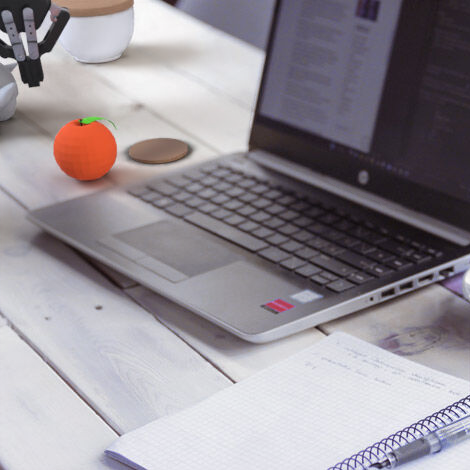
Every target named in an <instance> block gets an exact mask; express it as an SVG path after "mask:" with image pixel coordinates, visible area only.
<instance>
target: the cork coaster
mask: <svg viewBox="0 0 470 470" xmlns="http://www.w3.org/2000/svg"><path fill="white" fill-rule="evenodd" d="M188 152H189V145H188V144H187V143H186V142H185V141H183V140H180V139H177V138H171V137H170V138H169V137H157V138H149V139H145V140H141V141H139V142H137V143H134V144H133V145H131V146H130V148H129V150H128V155H129V157H130V158H131V159H132V160H134V161H136V162H138V163H141V164H142V163H143V164H165V163H170V162H174V161H177V160H180V159H182V158H183V157H185V156H187V154H188Z"/></svg>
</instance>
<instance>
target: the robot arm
mask: <svg viewBox="0 0 470 470" xmlns="http://www.w3.org/2000/svg"><path fill="white" fill-rule="evenodd" d="M50 12H51V13H50ZM48 13H50V15H49V18H50V21H51V24H50V26H49V28H48V29H47V31H46V32H45V34H44V36H43V38H42V40H41V41H39V42H38V36H37V30H39V29H40V28H41V27H42V25H43V23H44V22H45V20H46V17H47V15H48ZM69 19H70V12H69V9H68V8H67V7H60V6H58V5H56V4H55V3H53V2H51V0H0V32H2V33H4V34H6V35H7V37H8V39H9V43H10V44H8V43H7V42H5V40H3V39H2V38H0V58H2V59H6V60H7V59H12V60H14V61H15V62H17V63H18V64H17V67H18V71H19V75H20V80H21V82H22V83H23V85H27V86H28V88H29V89H30V88H38V87H41V82H44V78H45V74H44V69H43V64H42V60H41V57H42V56H43V55H45V54H49V53H51V52H52V51H53V49H54V47H55V46H56V44H57V42H58V41H59V40H58V38H59V37H60V35H61V33H62V31H63V30H64V28H65V26H66V24H67V23H68V21H69ZM52 22H53V23H52ZM21 33H25V38H26V45H27V51H28V55H27V51H26V48H25V45H24V42H23V39H22V34H21Z"/></svg>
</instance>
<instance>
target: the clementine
mask: <svg viewBox="0 0 470 470" xmlns="http://www.w3.org/2000/svg"><path fill="white" fill-rule="evenodd" d="M101 120H105V121H108V122H109V123H110V124H112V125H113V127H114V128H115V130H116V131H118V129H117V126H116V125H115V123H114V122H112V120H109V119H107V118H104V117H101V116H87V117H84V118H77V119H73V120H70V121H69V122H67V123H66V124H65V125H63V126H62V127H61V128H60V129H59V130H58V132H57V133H56V135H55V137H54V141H53V147H52V149H53V151H52V152H53V158H54V161H55V162H56V164H57V165H58V167H59V168H60V170H61V171H62V172H63V173H64V174H65V175H66V176H68V177H70V178H72V179H75V180H77V181H84V182H85V181H87V182H88V181H94V180H97V179H101V178H102V177H103V176H105V175H107V173H109V172H110V170H111V169H112V168H113V166H114V165H115V163H116V160H117V156H118V145H117V144H118V143H117V141H116V138H115V136H114V135H113V133H112V131H111V130H110V129H109V128H108V127H107V126H106V125H105V124H103V123H102V122H100V121H101Z"/></svg>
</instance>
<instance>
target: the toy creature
mask: <svg viewBox="0 0 470 470" xmlns="http://www.w3.org/2000/svg"><path fill="white" fill-rule="evenodd" d="M16 67H18V63H17V61H15V62H12V63H7V64H3V63H2V62H0V122H4V121H8V120H9V119H11V118H12V116H13V115H15V112H16V108H17V98H18V95H19V87H18V83H17V81H16V79H15V77H14V75H13V73H12V72H13V70H15V68H16Z"/></svg>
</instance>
